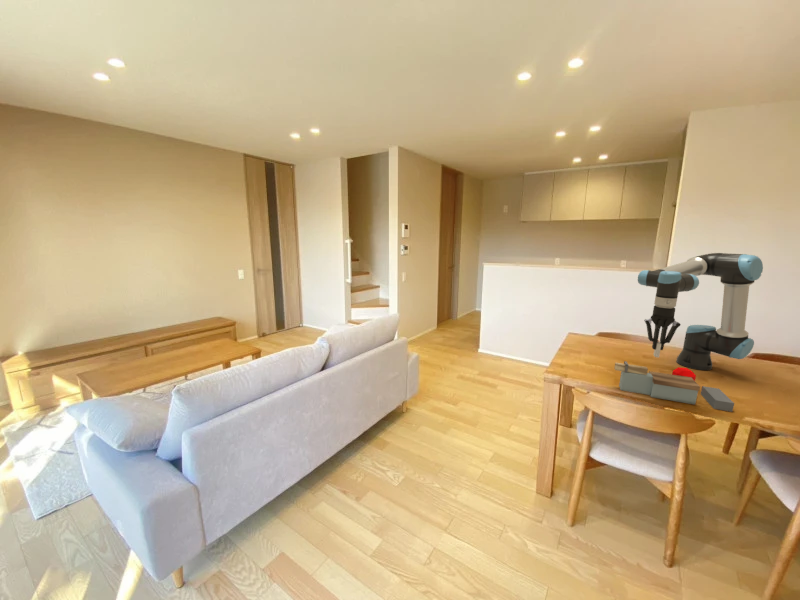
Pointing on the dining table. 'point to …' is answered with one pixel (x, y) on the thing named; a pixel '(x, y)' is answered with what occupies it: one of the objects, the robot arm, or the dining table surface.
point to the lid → (674, 381)
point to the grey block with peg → (635, 381)
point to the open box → (673, 393)
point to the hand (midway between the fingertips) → (656, 356)
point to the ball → (684, 372)
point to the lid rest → (717, 399)
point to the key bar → (631, 368)
